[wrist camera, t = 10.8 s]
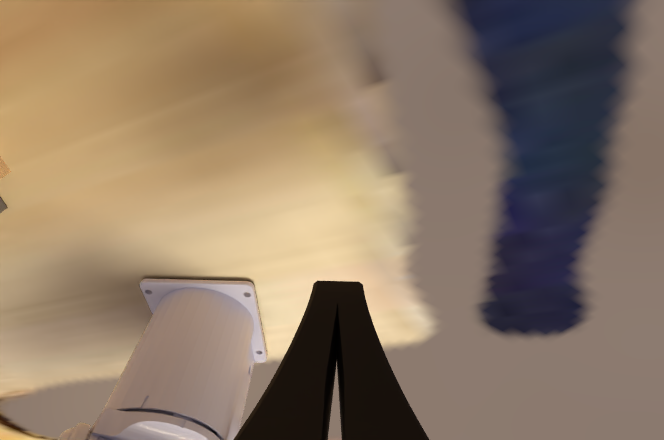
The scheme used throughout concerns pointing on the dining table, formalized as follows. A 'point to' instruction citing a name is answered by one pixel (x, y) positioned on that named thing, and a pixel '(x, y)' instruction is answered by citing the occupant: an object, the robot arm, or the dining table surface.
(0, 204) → the bay
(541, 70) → the dining table surface
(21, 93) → the dining table surface
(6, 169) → the block with grey stripes
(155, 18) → the dining table surface
